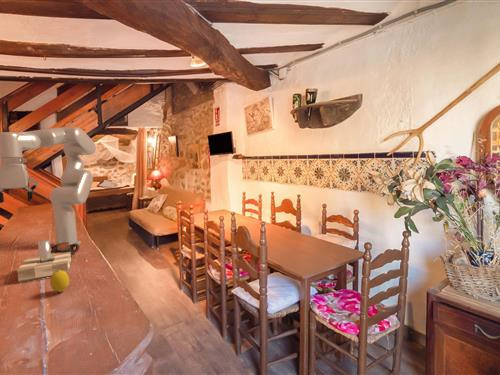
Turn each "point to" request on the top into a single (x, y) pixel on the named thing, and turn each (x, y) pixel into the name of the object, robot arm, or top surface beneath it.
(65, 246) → the pottery mug
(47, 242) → the pin
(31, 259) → the bore block
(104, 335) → the top surface
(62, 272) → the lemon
